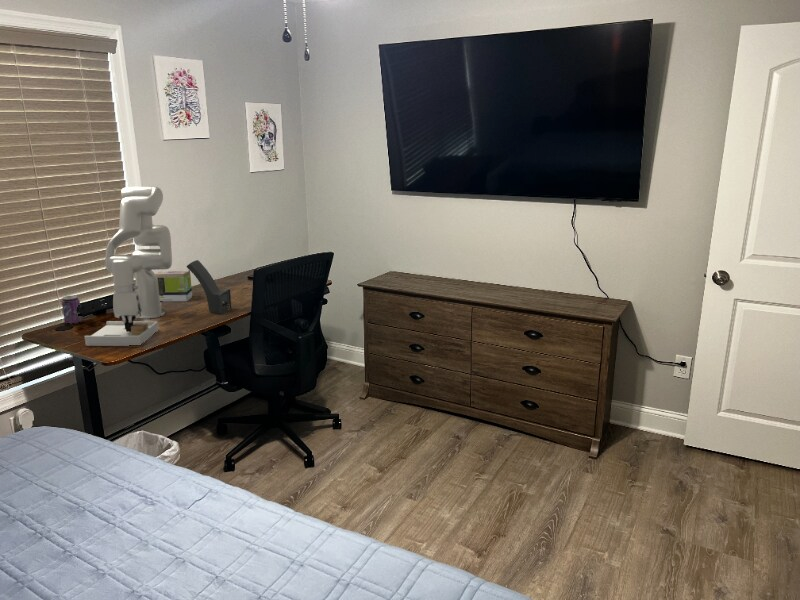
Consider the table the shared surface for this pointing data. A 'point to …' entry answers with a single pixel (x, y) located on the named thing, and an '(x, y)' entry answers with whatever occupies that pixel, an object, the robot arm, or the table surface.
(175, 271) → the tea box
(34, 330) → the table surface
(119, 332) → the box
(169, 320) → the table surface
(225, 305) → the light fixture
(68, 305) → the beverage can
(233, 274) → the table surface
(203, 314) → the table surface
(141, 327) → the walnut block
